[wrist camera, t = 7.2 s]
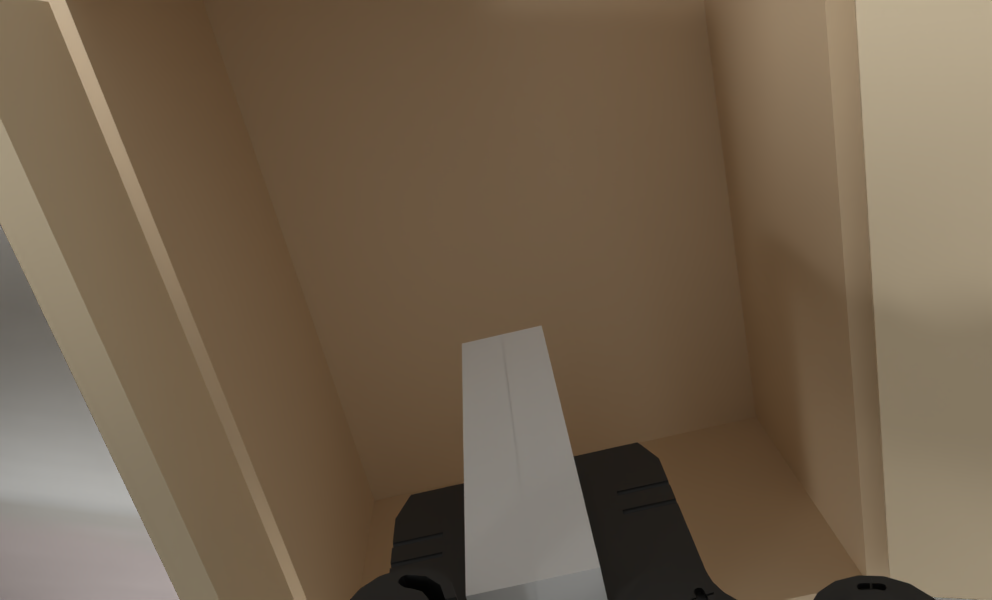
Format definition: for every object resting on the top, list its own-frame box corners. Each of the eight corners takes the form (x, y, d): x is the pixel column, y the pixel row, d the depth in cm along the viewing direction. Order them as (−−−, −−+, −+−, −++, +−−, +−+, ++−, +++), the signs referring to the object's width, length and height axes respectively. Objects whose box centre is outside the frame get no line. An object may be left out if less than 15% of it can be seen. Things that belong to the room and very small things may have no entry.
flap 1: (316, 709, 21) (347, 950, 15) (19, 8, 14) (-110, -4, 9) (335, 701, 21) (372, 937, 15) (48, 2, 15) (-60, -15, 9)
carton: (370, 525, 30) (337, 734, 22) (162, -69, 23) (-8, -93, 14) (773, 437, 30) (896, 618, 21) (698, -205, 22) (844, -312, 14)
